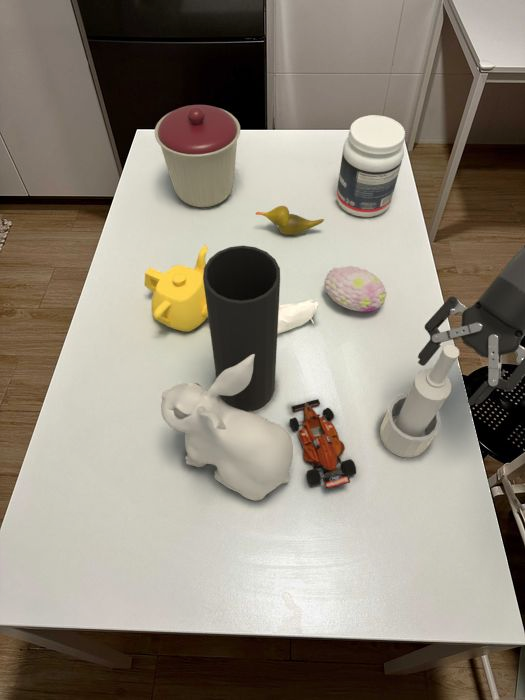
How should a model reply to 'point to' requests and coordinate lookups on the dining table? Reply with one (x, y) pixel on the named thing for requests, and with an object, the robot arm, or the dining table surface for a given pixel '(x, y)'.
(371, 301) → the decorative item
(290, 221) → the olive yellow toy bird
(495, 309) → the robot arm
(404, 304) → the dining table surface
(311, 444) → the toy car
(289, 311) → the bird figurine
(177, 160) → the canister
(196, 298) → the teapot
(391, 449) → the stand
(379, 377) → the dining table surface
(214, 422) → the rabbit
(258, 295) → the vase
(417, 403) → the bottle
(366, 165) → the supplement tub
